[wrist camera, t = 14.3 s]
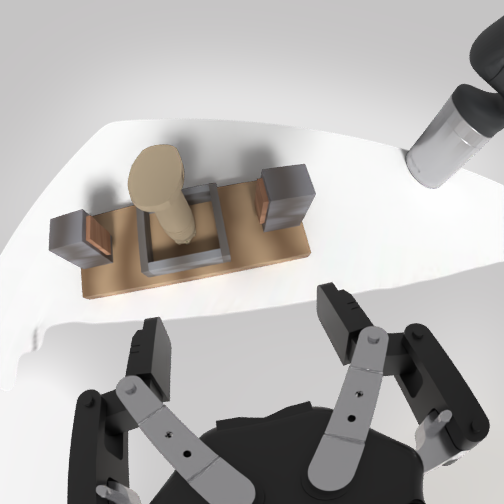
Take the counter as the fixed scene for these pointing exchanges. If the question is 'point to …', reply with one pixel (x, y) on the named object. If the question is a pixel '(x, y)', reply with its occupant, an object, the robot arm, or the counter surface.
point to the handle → (162, 190)
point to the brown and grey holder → (201, 246)
